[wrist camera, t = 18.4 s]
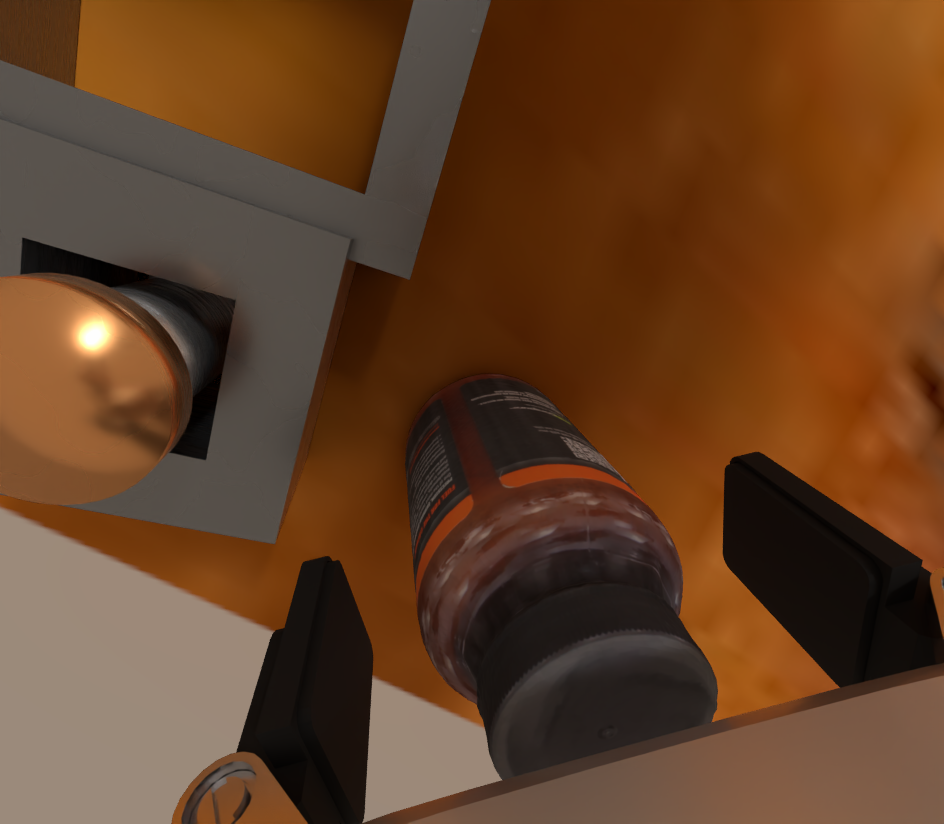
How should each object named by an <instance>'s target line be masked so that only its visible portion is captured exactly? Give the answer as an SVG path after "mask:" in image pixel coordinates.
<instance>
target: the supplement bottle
mask: <svg viewBox="0 0 944 824" xmlns="http://www.w3.org/2000/svg"><path fill="white" fill-rule="evenodd" d="M405 459H406V461H405V467H406V478H407V488H408V503H409V514H410V528H411V538H412V553H413V567H414V580H415V590H416V599H417V613H418V620H419V624H420V629H421V635H422V639H423V643H424V645H425V647H426V650H427V652H428V654H429V656H430V658H431V661H432V663H433V665H434V666H435V668H436V670H437V671H438V672H439V674H440V675H441V676H442V677H443V679H444V680H445V681H446V682H447V684H448V685H449V686H451V687H452V688H453V689H454V690H455V691H457V692H458V693H459V694H461V695H462V696H463V697H465V698H467V699H468V700H470V701H472V702H474V703H475V704H477V707H478V709H479V713H480V715H481V717H482V719H483V722H484V727H485V731H486V735H487V742H488V748H489V754H490V756H491V759H492V762H493V764H494V767H495V769H496V771H497V772H498V774H499V776H500V777H501V779H502V780H505V779H509V778H512V777H516V776H520V775H523V774H527V773H530V772H534V771H537V770H541V769H545V768H548V767H552V766H555V765H559V764H562V763H566V762H569V761H573V760H577V759H580V758H584V757H587V756H591V755H595V754H598V753H602V752H605V751H609V750H613V749H616V748H620V747H624V746H627V745H631V744H635V743H638V742H642V741H645V740H649V739H653V738H656V737H660V736H664V735H667V734H671V733H675V732H678V731H682V730H686V729H689V728H693V727H697V726H700V725H704V724H708V723H711V722H712V719H713V715H714V713H715V711H716V710H717V694H718V689H717V681H716V677H715V675H714V672H713V670H712V668H711V665H710V664H709V662H708V660H707V658H706V657H705V655H704V654H703V652H702V650H701V649H700V648H699V647H698V646H697V644H696V643H695V642H694V641H693V639H692V638H691V636H690V635H689V633H688V632H687V630H686V629H685V627H684V625H683V623H682V621H681V620H680V619H679V618H678V616H679V614H680V608H681V600H682V591H683V576H682V566H681V563H680V559H679V556H678V553H677V550H676V547H675V545H674V543H673V541H672V539H671V537H670V535H669V533H668V532H667V530H666V528H665V527H664V525H663V524H662V523H661V521H660V520H659V519H658V517H657V516H656V515H655V513H654V512H653V511H652V510H651V509H650V508H649V506H648V505H647V504H646V503H645V502H644V501H643V500H642V499H641V498H640V497H639V496H638V495H637V494H636V492H635V491H634V490H633V488H632V487H631V486H630V485H629V484H628V483H627V482H626V481H625V480H624V479H623V477H622V476H621V475H620V474H619V473H618V472H617V471H616V470H615V469H614V468H613V467H612V465H611V464H609V463H608V461H607V460H606V459H605V458H604V457H603V456H602V455H601V454H600V453H599V452H598V451H597V450H596V449H595V448H594V447H593V446H592V444H591V443H590V442H589V441H588V440H587V439H586V438H585V437H584V436H583V435H582V434H581V433H580V432H579V431H578V429H577V428H576V427H575V426H574V425H573V424H572V423H571V422H570V421H569V420H568V418H566V417H565V416H564V415H563V413H562V412H561V411H560V410H559V409H558V408H557V407H556V406H555V405H554V404H553V403H552V402H551V401H550V400H549V398H547V397H546V396H545V395H544V394H542V393H541V392H540V391H539V390H538V389H536V388H535V387H533V386H532V385H530V384H529V383H526V382H524V381H522V380H519V379H517V378H514V377H509V376H505V375H500V374H481V375H475V376H471V377H467V378H463V379H461V380H459V381H456V382H454V383H452V384H450V385H448V386H446V387H445V388H443V389H441V390H440V391H439V392H437V393H436V394H435V395H433V396H432V397H431V398H430V399H429V400H428V401H427V402H426V403H425V405H424V406H423V407H422V408H421V410H420V411H419V413H418V414H417V416H416V418H415V420H414V421H413V424H412V426H411V428H410V431H409V435H408V439H407V444H406V458H405Z"/></svg>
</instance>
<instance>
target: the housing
mask: <svg viewBox="0 0 944 824" xmlns="http://www.w3.org/2000/svg"><path fill="white" fill-rule="evenodd" d="M490 2H491V0H414V1H413V5H412V9H411V13H410V17H409V21H408V25H407V29H406V33H405V37H404V41H403V45H402V49H401V53H400V57H399V61H398V65H397V69H396V73H395V77H394V81H393V85H392V89H391V93H390V97H389V101H388V105H387V109H386V113H385V117H384V121H383V125H382V129H381V133H380V137H379V141H378V145H377V149H376V153H375V157H374V161H373V165H372V169H371V173H370V177H369V181H368V185H367V189H366V193H365V194H362V193H360V192H357V191H354V190H351V189H349V188H346V187H343V186H341V185H338V184H335V183H332V182H330V181H327V180H324V179H322V178H319V177H316V176H313V175H311V174H308V173H305V172H303V171H300V170H297V169H294V168H292V167H289V166H286V165H284V164H281V163H278V162H276V161H273V160H270V159H267V158H265V157H262V156H259V155H257V154H254V153H251V152H248V151H246V150H243V149H240V148H238V147H235V146H232V145H229V144H227V143H224V142H221V141H219V140H216V139H213V138H210V137H208V136H205V135H202V134H200V133H197V132H194V131H191V130H189V129H186V128H183V127H181V126H178V125H175V124H172V123H170V122H167V121H164V120H162V119H159V118H156V117H153V116H151V115H148V114H145V113H143V112H140V111H137V110H134V109H132V108H129V107H126V106H124V105H121V104H118V103H115V102H113V101H110V100H107V99H105V98H102V97H99V96H96V95H94V94H91V93H88V92H86V91H83V90H80V89H77V88H75V87H74V78H75V65H76V52H77V39H78V26H79V13H80V0H0V277H7V276H15V275H22V274H30V273H59V274H68V275H73V276H77V277H82V278H86V279H89V280H92V281H95V282H98V283H101V284H103V285H105V286H108V287H115V286H120V285H124V284H129V283H134V282H137V275H138V272H142V273H145V274H148V275H149V279H152V278H157V277H159V278H162V279H165V280H169V281H172V282H176V283H179V284H182V285H186V286H189V287H193V288H196V289H199V290H203V291H206V292H210V293H213V294H216V295H220V296H223V297H227V298H230V299H232V300H233V302H234V303H235V309H234V314H233V319H232V325H231V330H230V335H229V341H228V346H227V351H226V357H225V362H224V367H223V373H222V378H221V383H220V385H219V384H215V383H211V382H210V383H209V384H208V385H207V386H206V387H204V388H203V389H202V390H201V391H200V392H199V393H197V394H196V395H195V396H194V397H193V401H192V411H191V415H190V419H189V423H188V425H187V427H186V430H185V432H184V434H183V436H182V437H181V439H180V440H179V442H178V443H177V444H176V446H175V447H174V448H173V449H172V450H171V451H170V452H169V453H168V454H167V455H166V456H165V457H164V458H163V459H162V460H161V461H160V462H159V463H158V464H157V465H156V466H155V467H154V468H153V469H152V470H151V471H150V472H149V473H148V474H147V475H146V476H145V477H144V478H143V479H142V480H140V481H139V482H138V483H137V484H135V485H134V486H132V487H131V488H129V489H127V490H126V491H124V492H122V493H119V494H117V495H115V496H113V497H110V498H106V499H103V500H100V501H96V502H90V503H85V504H74V505H61V506H66V507H72V508H77V509H83V510H88V511H94V512H99V513H105V514H111V515H116V516H122V517H127V518H133V519H138V520H144V521H149V522H155V523H160V524H166V525H171V526H177V527H182V528H188V529H194V530H199V531H205V532H210V533H216V534H221V535H227V536H232V537H238V538H243V539H249V540H254V541H260V542H266V543H271V544H275V542H276V540H277V537H278V534H279V532H280V529H281V526H282V524H283V521H284V518H285V516H286V513H287V510H288V508H289V505H290V502H291V500H292V497H293V494H294V491H295V489H296V486H297V483H298V481H299V478H300V475H301V473H302V470H303V467H304V465H305V462H306V459H307V455H308V451H309V447H310V443H311V439H312V435H313V431H314V428H315V424H316V420H317V416H318V412H319V408H320V404H321V400H322V396H323V392H324V388H325V385H326V381H327V377H328V373H329V369H330V365H331V361H332V357H333V353H334V349H335V345H336V342H337V338H338V334H339V330H340V326H341V322H342V318H343V314H344V310H345V306H346V302H347V298H348V295H349V291H350V287H351V283H352V279H353V275H354V271H355V267H356V263H357V262H358V263H361V264H364V265H367V266H370V267H373V268H376V269H379V270H382V271H385V272H388V273H391V274H394V275H397V276H400V277H403V278H406V279H409V280H410V277H411V274H412V270H413V267H414V263H415V260H416V256H417V253H418V250H419V246H420V243H421V239H422V236H423V232H424V229H425V225H426V222H427V219H428V215H429V212H430V208H431V205H432V201H433V198H434V194H435V191H436V188H437V184H438V181H439V177H440V174H441V170H442V167H443V164H444V160H445V157H446V153H447V150H448V146H449V143H450V139H451V136H452V133H453V129H454V126H455V122H456V119H457V115H458V112H459V108H460V105H461V102H462V98H463V95H464V91H465V88H466V84H467V81H468V77H469V74H470V71H471V67H472V64H473V60H474V57H475V53H476V50H477V47H478V43H479V40H480V36H481V33H482V29H483V26H484V22H485V19H486V16H487V12H488V9H489V5H490ZM0 495H4V494H1V493H0ZM5 496H7V495H5Z"/></svg>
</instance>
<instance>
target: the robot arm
mask: <svg viewBox="0 0 944 824" xmlns="http://www.w3.org/2000/svg"><path fill="white" fill-rule="evenodd" d="M723 557H724V560H725V563H726V564H727V566H728V567H729V569H730V570H731V571H732V572H733V573H734V574H735V575H736V576H737V577H738V578H739V580H740V581H741V582H742V583H743V584H744V585H745V586H746V587H747V588H748V589H749V590H750V591H751V593H752V594H753V595H754V596H755V597H756V598H757V599H758V600H759V601H760V602H761V603H762V604H763V605H764V607H765V608H766V609H767V610H768V611H769V612H770V613H771V614H772V615H773V616H774V617H775V618H776V619H777V621H778V622H779V623H780V624H781V625H782V626H783V627H784V628H785V629H786V630H787V631H788V632H789V634H790V635H791V636H792V637H793V638H794V639H795V640H796V641H797V642H798V643H799V644H800V645H801V646H802V648H803V649H804V650H805V651H806V652H807V653H808V654H809V655H810V656H811V657H812V658H813V659H814V660H815V662H816V663H817V664H818V665H819V666H820V667H821V668H822V669H823V670H824V671H825V672H826V673H827V675H828V676H829V677H830V678H831V679H832V680H833V681H834V682H835V683H836V684H837V685H838V686H839V687H840V688H838V689H834V690H831V691H827V692H823V693H819V694H816V695H812V696H808V697H804V698H801V699H797V700H793V701H789V702H786V703H782V704H778V705H774V706H771V707H767V708H763V709H759V710H756V711H752V712H748V713H744V714H741V715H737V716H733V717H730V718H726V719H722V720H719V721H715V722H711V723H708V724H704V725H700V726H697V727H693V728H689V729H686V730H682V731H678V732H675V733H671V734H667V735H664V736H660V737H656V738H653V739H649V740H645V741H642V742H638V743H635V744H631V745H627V746H624V747H620V748H616V749H613V750H609V751H605V752H602V753H598V754H595V755H591V756H587V757H584V758H580V759H577V760H573V761H569V762H566V763H562V764H559V765H555V766H552V767H548V768H545V769H541V770H537V771H534V772H530V773H527V774H523V775H520V776H516V777H512V778H509V779H505V780H502V781H498V782H495V783H491V784H488V785H484V786H480V787H477V788H473V789H470V790H467V791H463V792H460V793H456V794H453V795H450V796H446V797H443V798H440V799H437V800H433V801H430V802H426V803H423V804H420V805H417V806H413V807H410V808H406V809H403V810H400V811H396V812H393V813H390V814H387V815H384V816H382V817H379V818H376V819H373V820H370V821H368V822H365V823H362V822H363V819H364V812H365V795H366V794H365V793H366V777H367V760H368V741H369V723H370V706H371V688H372V672H373V650H372V645H371V642H370V639H369V636H368V634H367V631H366V628H365V626H364V623H363V620H362V618H361V615H360V612H359V610H358V607H357V604H356V602H355V599H354V597H353V594H352V591H351V589H350V586H349V583H348V581H347V578H346V575H345V573H344V570H343V567H342V565H341V563H340V561H339V560H336V561H332V559H331V558H330V557H329V556H326V557H321V558H317V559H313V560H309V561H305V562H303V564H302V566H301V570H300V573H299V577H298V580H297V584H296V588H295V591H294V595H293V599H292V602H291V606H290V610H289V613H288V617H287V621H286V624H285V628H283V629H279V630H276V631H275V632H274V633H273V634H272V637H271V639H270V642H269V646H268V649H267V652H266V655H265V659H264V662H263V665H262V669H261V672H260V676H259V679H258V682H257V685H256V689H255V692H254V695H253V699H252V702H251V705H250V709H249V712H248V715H247V719H246V722H245V725H244V729H243V732H242V735H241V739H240V742H239V745H238V748H237V752H236V753H233V754H229V755H227V756H225V757H223V758H221V759H219V760H217V761H215V762H214V763H213V764H211V765H210V766H208V767H207V768H206V769H205V770H203V771H202V772H201V773H200V774H199V775H198V776H197V777H196V778H195V779H194V780H193V781H192V783H191V784H190V785H189V786H188V788H187V789H186V791H185V792H184V794H183V795H182V797H181V798H180V800H179V803H178V805H177V807H176V809H175V811H174V814H173V818H172V823H171V824H944V567H942V568H939V569H936V570H935V571H934V572H933V573H930V572H929V571H927V570H926V569H924V568H923V567H921V565H922V561H923V560H921V559H920V558H918V557H917V556H915V555H914V554H912V553H911V552H909V551H908V550H906V549H905V548H903V547H902V546H900V545H899V544H897V543H896V542H894V541H893V540H891V539H890V538H888V537H887V536H885V535H884V534H882V533H881V532H879V531H878V530H876V529H875V528H873V527H872V526H870V525H869V524H867V523H866V522H864V521H863V520H861V519H860V518H858V517H857V516H855V515H854V514H852V513H851V512H849V511H848V510H846V509H845V508H843V507H842V506H840V505H839V504H837V503H836V502H834V501H833V500H831V499H830V498H828V497H827V496H825V495H824V494H822V493H821V492H819V491H818V490H816V489H815V488H813V487H812V486H810V485H809V484H807V483H806V482H804V481H803V480H801V479H800V478H798V477H797V476H795V475H794V474H792V473H791V472H789V471H788V470H786V469H785V468H783V467H782V466H780V465H779V464H777V463H776V462H774V461H773V460H771V459H770V458H768V457H767V456H765V455H764V454H762V453H760V452H753V453H749V454H745V455H741V456H737V457H734V458H732V459H731V461H730V465H727V466H726V468H725V478H724V520H723Z"/></svg>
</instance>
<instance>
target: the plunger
mask: <svg viewBox="0 0 944 824" xmlns="http://www.w3.org/2000/svg"><path fill="white" fill-rule="evenodd" d="M234 309H235V303H234V302H233V300H232V299H230V298H227V297H223V296H220V295H216V294H213V293H210V292H206V291H203V290H199V289H196V288H193V287H189V286H186V285H182V284H179V283H176V282H172V281H169V280H165V279H162V278H159V277H157V278H152V279H147V280H143V281H138V282H134V283H129V284H124V285H120V286H115V287H108V286H105V285H103V284H101V283H98V282H95V281H92V280H89V279H86V278H82V277H77V276H73V275H68V274H59V273H30V274H22V275H15V276H7V277H0V493H1V494H4V495H7V496H11V497H14V498H17V499H21V500H26V501H30V502H35V503H43V504H51V505H74V504H85V503H90V502H96V501H100V500H103V499H106V498H110V497H113V496H115V495H117V494H119V493H122V492H124V491H126V490H127V489H129V488H131V487H132V486H134V485H135V484H137V483H138V482H139V481H140V480H142V479H143V478H144V477H145V476H146V475H147V474H148V473H149V472H150V471H151V470H152V469H153V468H154V467H155V466H156V465H157V464H158V463H159V462H160V461H161V460H162V459H163V458H164V457H165V456H166V455H167V454H168V453H169V452H170V451H171V450H172V449H173V448H174V447H175V446H176V444H177V443H178V442H179V440H180V439H181V437H182V436H183V434H184V432H185V430H186V427H187V425H188V423H189V419H190V415H191V411H192V401H193V397H194V396H195V395H196V394H197V393H199V392H200V391H201V390H202V389H203V388H204V387H206V386H207V385H208V384H209V383H210V382H211V381H213V380H214V379H215V378H216V377H217V376H218V375H220V374H221V373H222V372H223V367H224V362H225V357H226V351H227V346H228V341H229V335H230V330H231V325H232V319H233V314H234Z"/></svg>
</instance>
